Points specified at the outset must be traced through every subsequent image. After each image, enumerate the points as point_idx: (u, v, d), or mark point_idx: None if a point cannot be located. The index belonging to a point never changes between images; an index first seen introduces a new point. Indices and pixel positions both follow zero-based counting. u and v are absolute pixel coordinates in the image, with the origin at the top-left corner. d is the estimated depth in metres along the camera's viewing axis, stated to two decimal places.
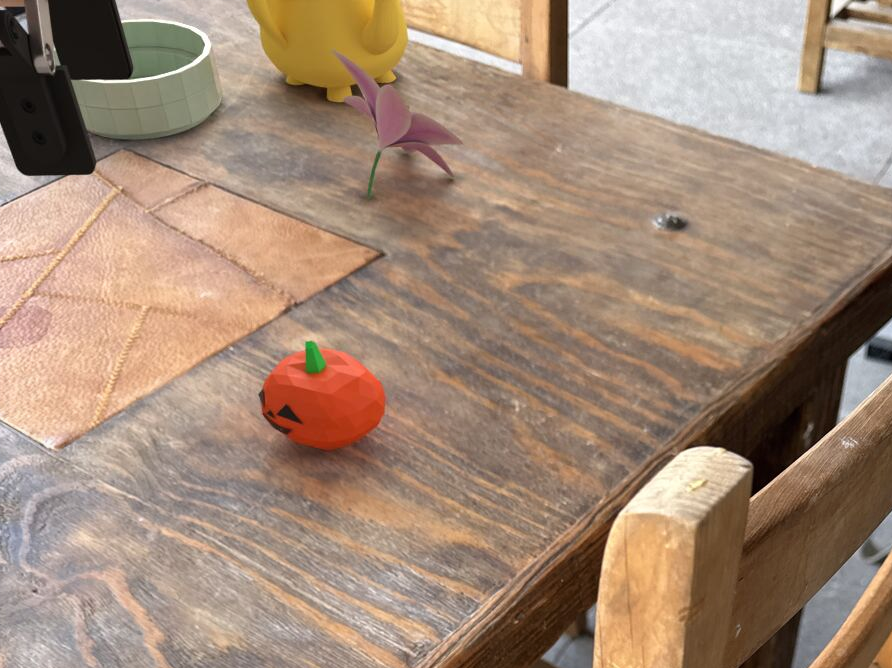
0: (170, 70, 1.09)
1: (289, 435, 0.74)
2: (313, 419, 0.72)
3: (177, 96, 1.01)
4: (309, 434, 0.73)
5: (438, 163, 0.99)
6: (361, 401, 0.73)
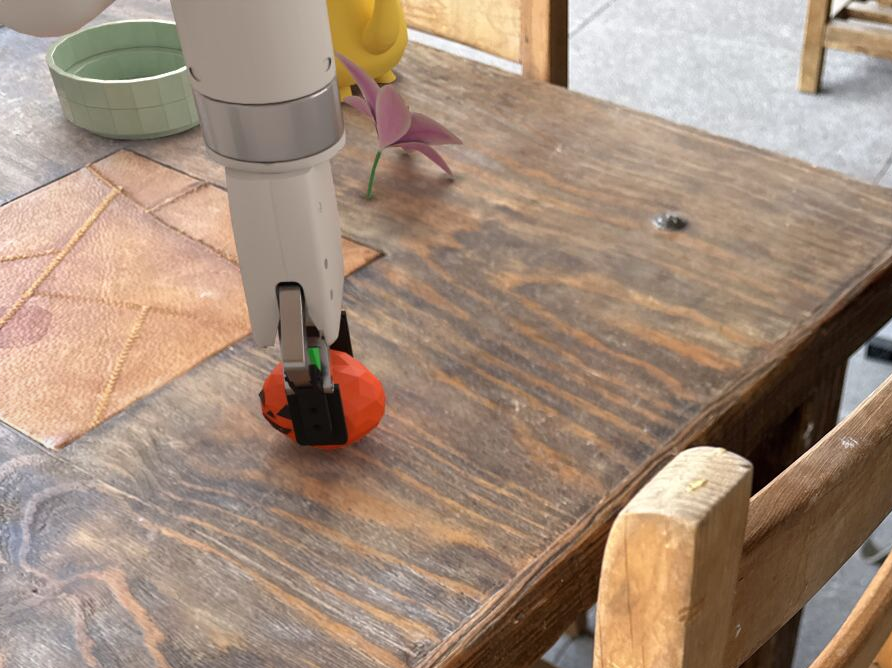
0: (170, 70, 1.09)
1: (289, 435, 0.74)
2: None
3: (177, 96, 1.01)
4: None
5: (438, 163, 0.99)
6: (361, 401, 0.73)
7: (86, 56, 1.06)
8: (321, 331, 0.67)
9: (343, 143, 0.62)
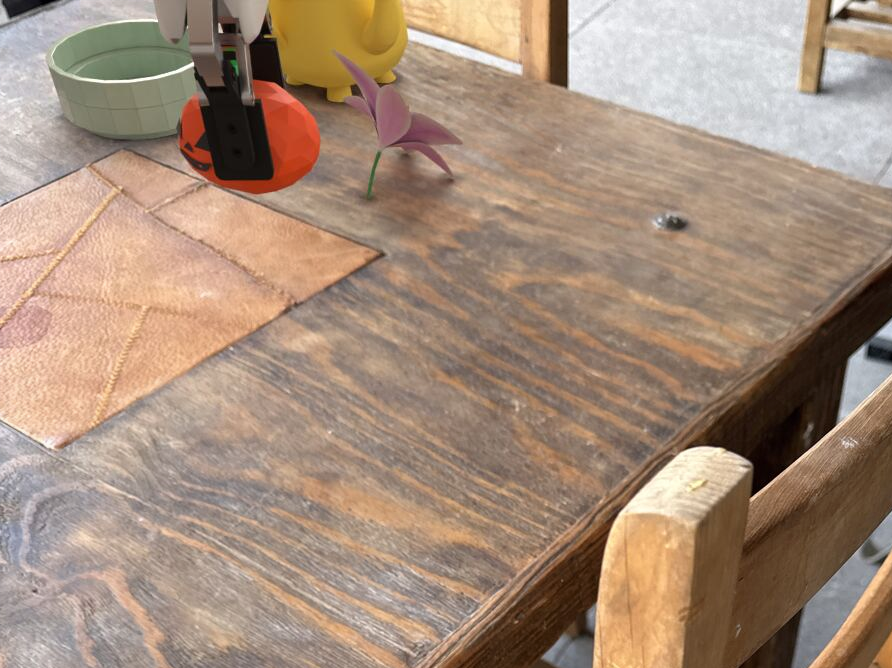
0: (170, 70, 1.09)
1: (210, 173, 0.66)
2: None
3: (177, 96, 1.01)
4: None
5: (438, 163, 0.99)
6: (290, 131, 0.65)
7: (86, 56, 1.06)
8: (238, 26, 0.59)
9: None
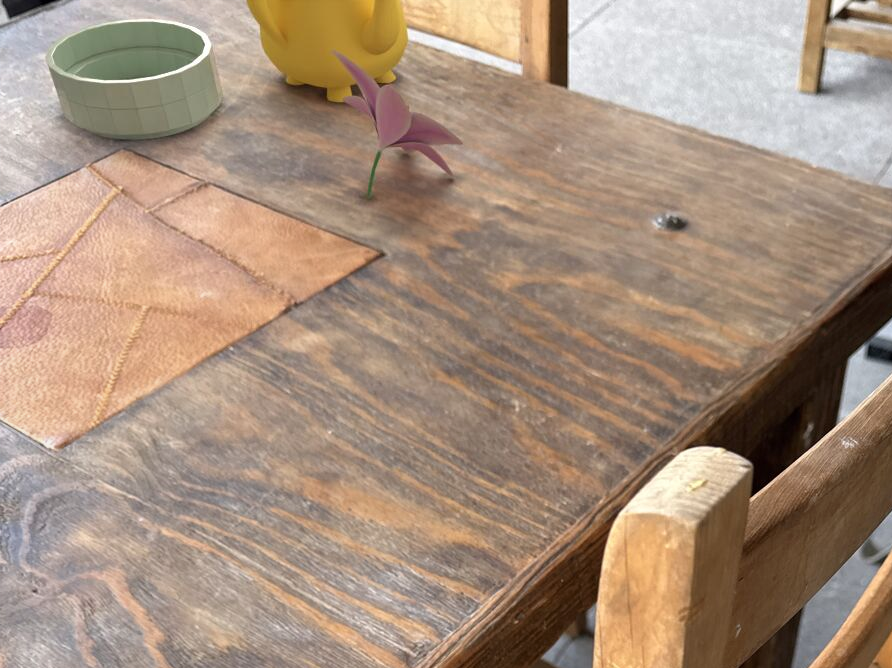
0: (170, 70, 1.09)
1: None
2: None
3: (177, 96, 1.01)
4: None
5: (438, 164, 0.99)
6: None
7: (86, 56, 1.06)
8: None
9: None
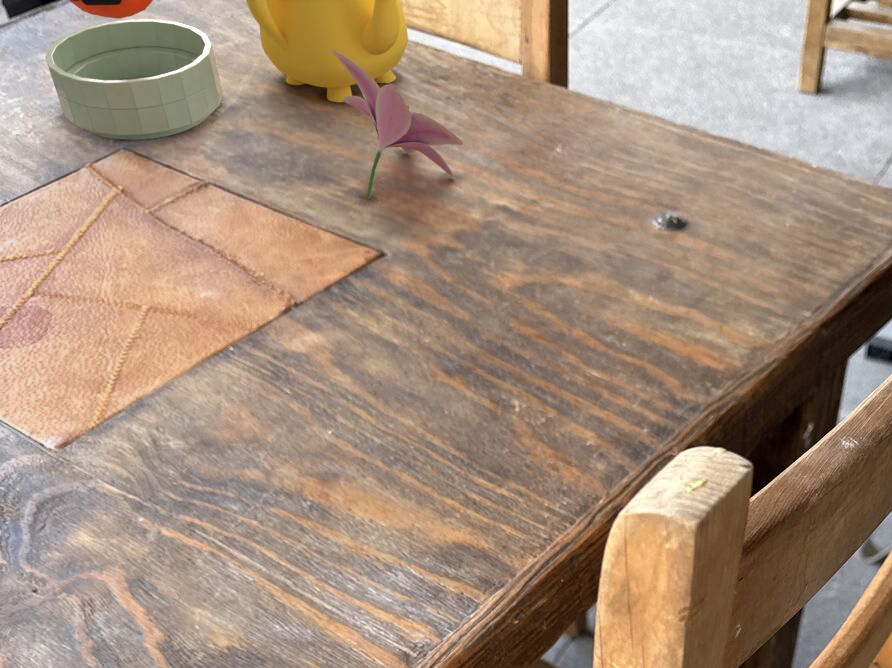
0: (170, 70, 1.09)
1: (81, 2, 0.97)
2: None
3: (177, 96, 1.01)
4: None
5: (438, 163, 0.99)
6: None
7: (86, 56, 1.06)
8: None
9: None
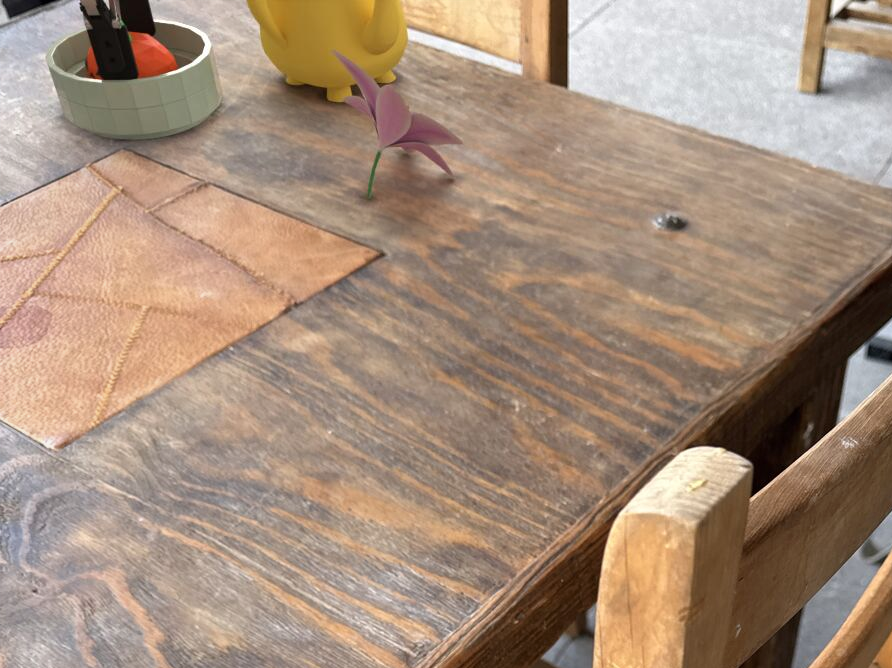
0: None
1: None
2: None
3: (177, 96, 1.01)
4: None
5: (438, 163, 0.99)
6: (156, 63, 1.02)
7: (86, 56, 1.06)
8: None
9: None
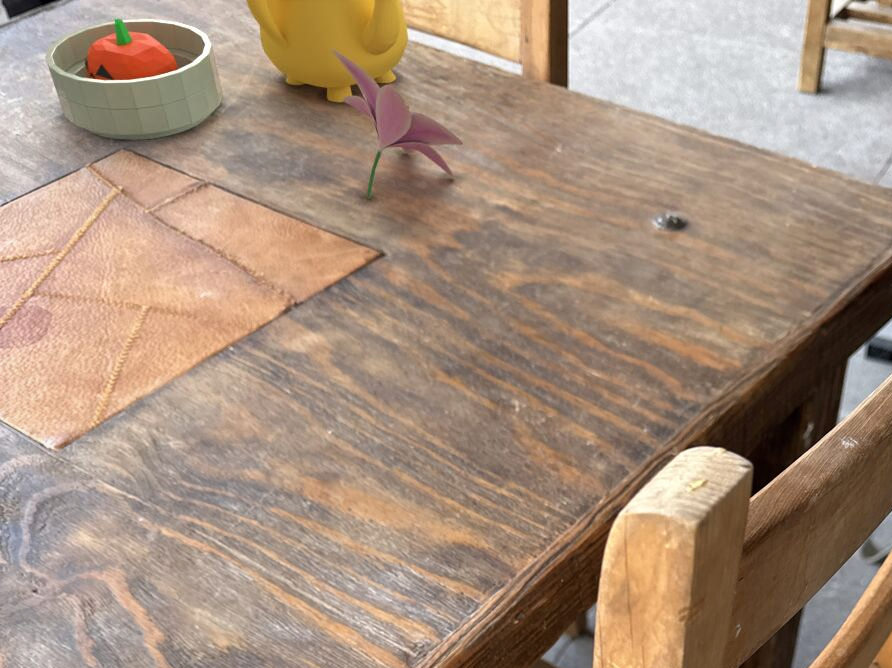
0: None
1: None
2: (121, 75, 1.01)
3: (177, 96, 1.01)
4: None
5: (438, 163, 0.99)
6: (156, 63, 1.02)
7: (86, 56, 1.06)
8: None
9: None
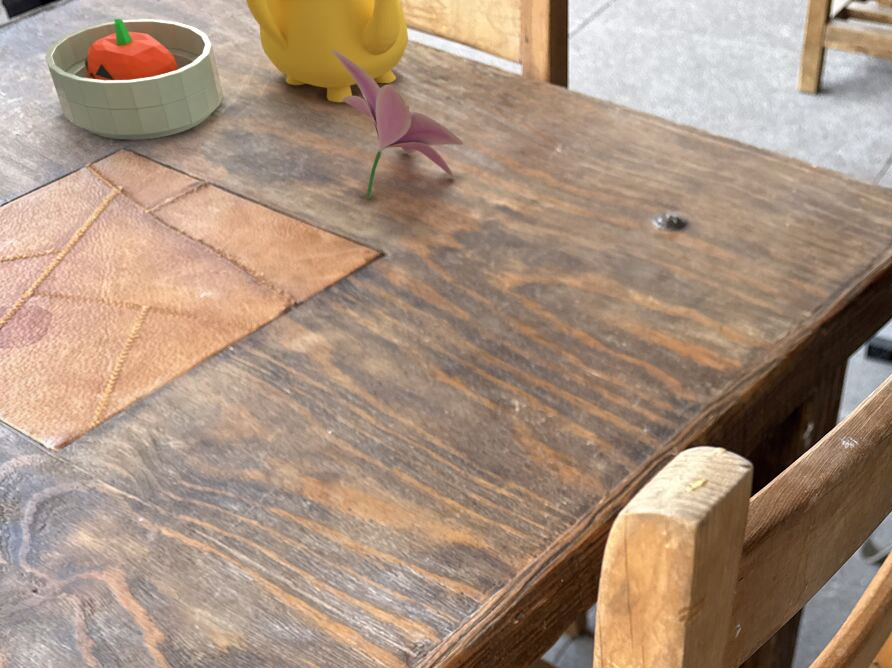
0: None
1: None
2: (121, 75, 1.01)
3: (177, 96, 1.01)
4: None
5: (438, 163, 0.99)
6: (156, 63, 1.02)
7: (86, 56, 1.06)
8: None
9: None
